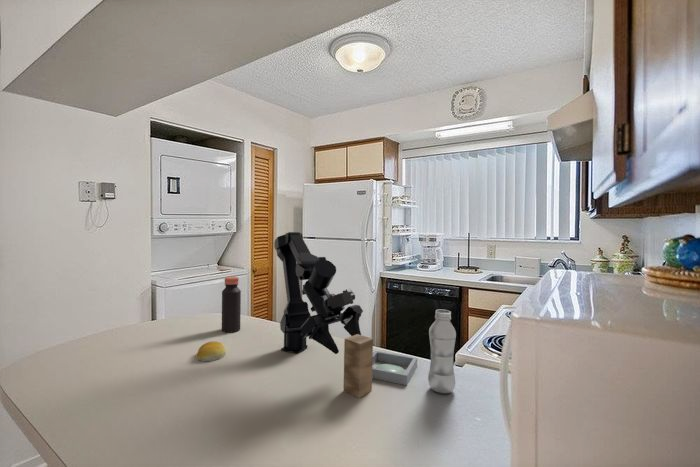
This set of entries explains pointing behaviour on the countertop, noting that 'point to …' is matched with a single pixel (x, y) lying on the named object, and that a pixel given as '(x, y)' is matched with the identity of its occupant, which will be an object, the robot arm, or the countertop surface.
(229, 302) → the vinegar
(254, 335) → the countertop surface
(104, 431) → the countertop surface
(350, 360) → the walnut block
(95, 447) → the countertop surface
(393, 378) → the walled pen
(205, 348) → the bread roll
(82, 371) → the countertop surface
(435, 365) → the plastic bottle
